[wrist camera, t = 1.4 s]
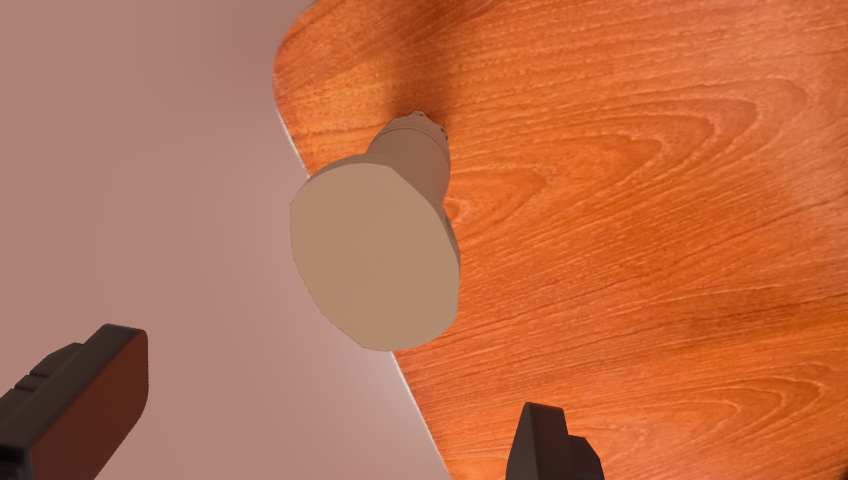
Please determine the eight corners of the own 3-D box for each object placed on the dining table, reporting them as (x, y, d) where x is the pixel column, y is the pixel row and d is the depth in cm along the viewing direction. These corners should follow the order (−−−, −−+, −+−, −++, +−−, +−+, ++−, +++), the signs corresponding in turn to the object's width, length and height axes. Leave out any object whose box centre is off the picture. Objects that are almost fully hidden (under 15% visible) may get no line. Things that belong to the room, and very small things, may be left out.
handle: (437, 64, 31) (408, 140, 18) (481, 178, 33) (485, 326, 20) (350, 99, 32) (258, 196, 19) (398, 208, 35) (348, 367, 21)
